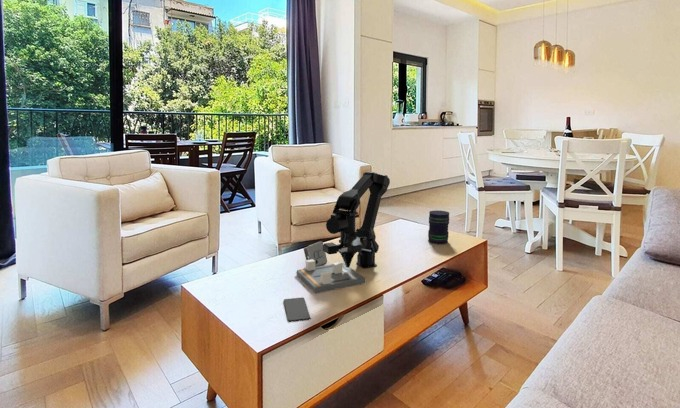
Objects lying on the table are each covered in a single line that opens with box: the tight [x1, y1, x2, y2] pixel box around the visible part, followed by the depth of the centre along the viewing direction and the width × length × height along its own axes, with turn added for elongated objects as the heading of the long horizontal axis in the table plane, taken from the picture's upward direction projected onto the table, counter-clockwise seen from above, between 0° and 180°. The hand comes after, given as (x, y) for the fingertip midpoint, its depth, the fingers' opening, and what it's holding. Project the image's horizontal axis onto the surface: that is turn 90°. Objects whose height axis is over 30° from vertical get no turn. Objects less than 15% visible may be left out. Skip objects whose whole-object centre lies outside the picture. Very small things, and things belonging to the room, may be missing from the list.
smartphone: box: [283, 296, 311, 323], centre depth 125 cm, size 7×1×15 cm
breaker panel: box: [296, 262, 367, 294], centre depth 149 cm, size 20×19×2 cm
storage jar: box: [427, 210, 450, 245], centre depth 196 cm, size 10×10×15 cm
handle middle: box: [332, 261, 343, 274], centre depth 150 cm, size 3×2×4 cm
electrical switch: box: [303, 241, 328, 267], centre depth 165 cm, size 9×5×9 cm, turn 141°
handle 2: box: [321, 272, 331, 285], centre depth 140 cm, size 3×2×4 cm
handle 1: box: [305, 259, 315, 271], centre depth 153 cm, size 3×2×4 cm
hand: (347, 267), depth 152 cm, fingers closed
